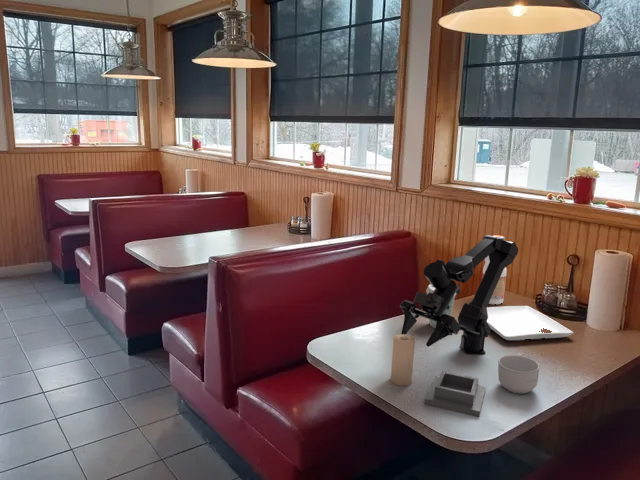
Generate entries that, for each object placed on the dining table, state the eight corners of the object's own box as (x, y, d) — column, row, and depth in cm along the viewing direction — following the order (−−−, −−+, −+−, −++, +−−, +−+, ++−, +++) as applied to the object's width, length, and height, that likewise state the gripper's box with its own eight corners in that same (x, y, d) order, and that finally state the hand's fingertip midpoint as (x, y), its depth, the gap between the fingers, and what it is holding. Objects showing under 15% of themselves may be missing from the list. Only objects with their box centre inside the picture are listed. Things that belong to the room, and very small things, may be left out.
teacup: (532, 402, 141) (535, 375, 139) (491, 390, 146) (494, 364, 145) (541, 381, 152) (544, 356, 151) (503, 371, 158) (506, 346, 156)
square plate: (505, 346, 177) (506, 335, 176) (464, 317, 203) (465, 307, 202) (573, 341, 183) (575, 330, 182) (526, 313, 209) (527, 304, 208)
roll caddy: (434, 380, 151) (436, 366, 150) (485, 391, 145) (487, 377, 144) (424, 403, 138) (425, 388, 137) (479, 416, 133) (481, 400, 132)
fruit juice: (495, 306, 215) (502, 240, 208) (475, 300, 222) (481, 235, 215) (507, 302, 220) (515, 237, 214) (488, 296, 227) (494, 233, 221)
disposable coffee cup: (458, 325, 193) (462, 286, 189) (444, 333, 185) (447, 293, 182) (432, 318, 200) (436, 280, 196) (418, 325, 192) (421, 286, 188)
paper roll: (408, 375, 153) (411, 333, 150) (414, 385, 148) (417, 342, 145) (388, 375, 153) (391, 334, 150) (393, 386, 147) (396, 342, 144)
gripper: (406, 274, 157) (378, 316, 153) (458, 290, 143) (429, 337, 139) (420, 294, 164) (394, 335, 159) (471, 311, 150) (444, 357, 146)
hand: (414, 340), depth 151 cm, fingers open, 9 cm apart
